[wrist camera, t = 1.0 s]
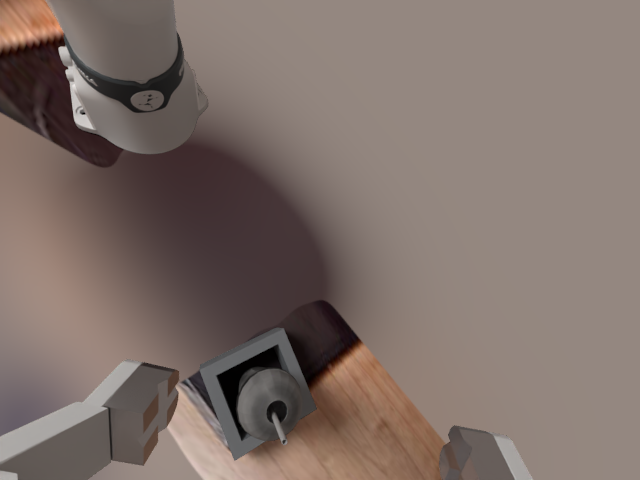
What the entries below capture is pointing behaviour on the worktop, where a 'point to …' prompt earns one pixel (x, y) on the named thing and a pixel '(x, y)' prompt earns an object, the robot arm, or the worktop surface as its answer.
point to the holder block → (209, 370)
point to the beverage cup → (268, 403)
